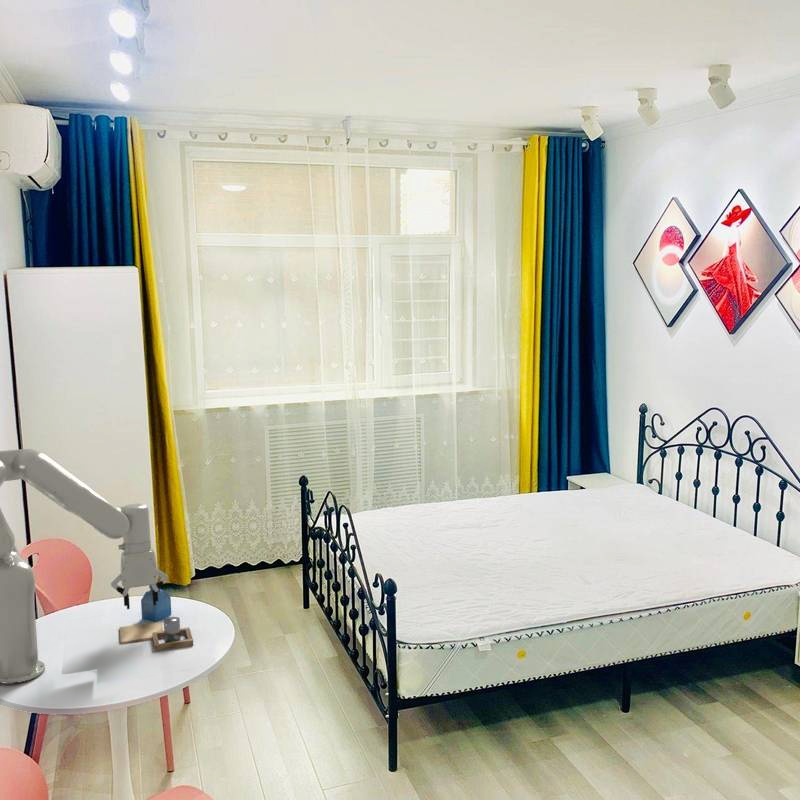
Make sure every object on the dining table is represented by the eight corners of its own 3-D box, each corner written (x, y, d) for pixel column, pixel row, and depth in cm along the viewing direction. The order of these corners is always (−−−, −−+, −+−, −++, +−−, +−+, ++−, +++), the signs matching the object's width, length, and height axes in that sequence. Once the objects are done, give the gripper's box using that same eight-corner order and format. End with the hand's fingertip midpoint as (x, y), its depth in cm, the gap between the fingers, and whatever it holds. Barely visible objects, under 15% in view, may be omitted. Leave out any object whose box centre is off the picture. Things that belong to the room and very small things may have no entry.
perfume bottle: (171, 616, 250) (169, 579, 249) (155, 623, 245) (153, 585, 244) (157, 613, 254) (155, 576, 252) (142, 619, 248) (140, 581, 247)
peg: (165, 645, 228) (164, 623, 227) (164, 640, 232) (163, 618, 231) (181, 643, 229) (180, 621, 229) (179, 637, 234) (178, 615, 233)
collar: (154, 651, 224) (154, 646, 224) (152, 637, 234) (152, 632, 234) (193, 645, 228) (193, 640, 228) (189, 632, 237) (189, 627, 237)
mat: (120, 644, 230) (120, 641, 230) (119, 629, 241) (119, 627, 241) (164, 637, 234) (164, 635, 234) (161, 623, 245) (161, 621, 245)
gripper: (105, 554, 228) (110, 614, 230) (169, 546, 234) (173, 605, 236) (105, 547, 235) (109, 606, 237) (167, 539, 241) (170, 597, 243)
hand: (141, 605), depth 237 cm, fingers open, 6 cm apart
